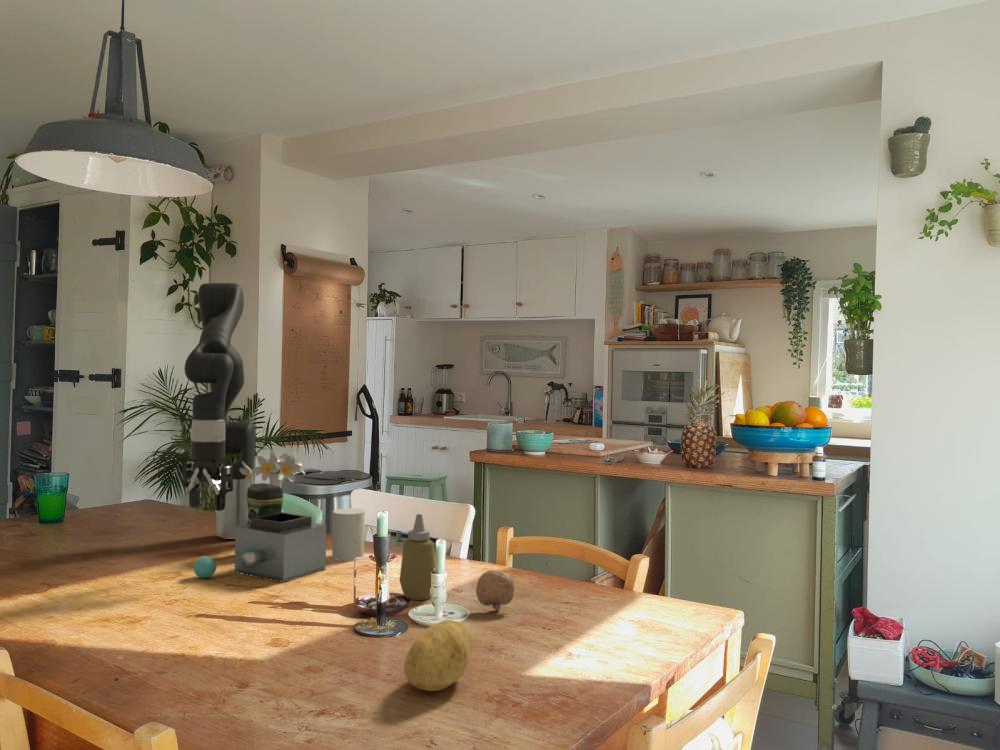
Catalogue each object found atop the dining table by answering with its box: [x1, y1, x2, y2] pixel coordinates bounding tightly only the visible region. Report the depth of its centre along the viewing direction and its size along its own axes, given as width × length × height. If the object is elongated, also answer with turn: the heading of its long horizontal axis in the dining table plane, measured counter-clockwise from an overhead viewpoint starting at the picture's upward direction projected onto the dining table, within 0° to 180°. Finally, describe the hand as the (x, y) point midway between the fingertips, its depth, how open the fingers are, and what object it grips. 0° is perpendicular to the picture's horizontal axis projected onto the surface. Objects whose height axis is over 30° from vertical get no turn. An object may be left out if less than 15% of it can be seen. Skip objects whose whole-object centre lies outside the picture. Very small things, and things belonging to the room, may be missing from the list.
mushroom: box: [475, 569, 515, 612], centre depth 162 cm, size 8×6×8 cm
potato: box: [403, 619, 473, 692], centre depth 124 cm, size 10×14×10 cm
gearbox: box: [234, 511, 327, 583], centre depth 188 cm, size 16×18×13 cm
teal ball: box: [193, 555, 217, 579], centre depth 183 cm, size 5×5×5 cm
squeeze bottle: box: [399, 513, 436, 601], centre depth 171 cm, size 8×8×18 cm
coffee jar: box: [247, 482, 284, 524], centre depth 207 cm, size 10×8×19 cm
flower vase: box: [239, 451, 306, 512], centre depth 223 cm, size 13×18×25 cm
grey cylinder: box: [331, 507, 366, 561], centre depth 205 cm, size 8×8×12 cm
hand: (207, 508), depth 183 cm, fingers open, 8 cm apart
